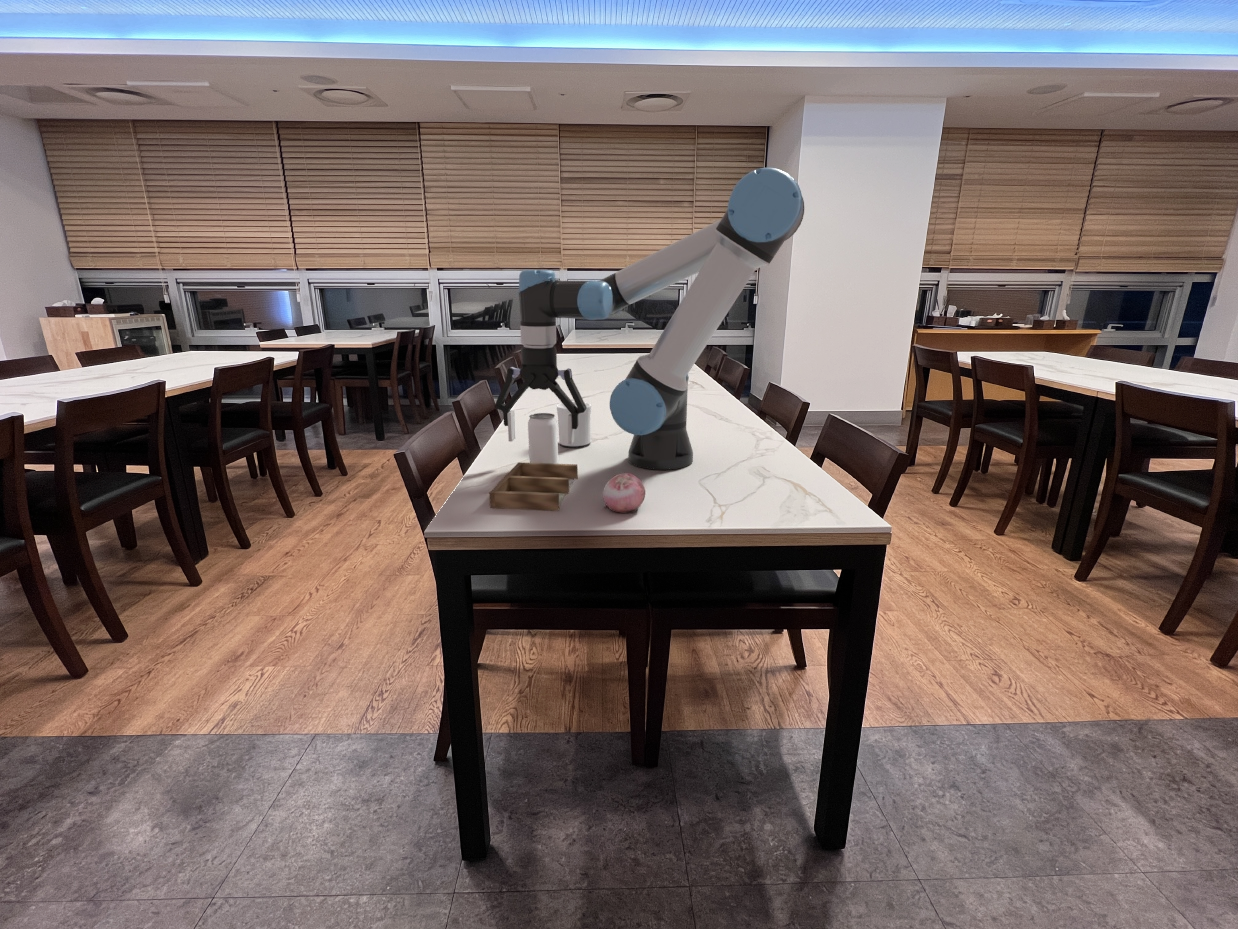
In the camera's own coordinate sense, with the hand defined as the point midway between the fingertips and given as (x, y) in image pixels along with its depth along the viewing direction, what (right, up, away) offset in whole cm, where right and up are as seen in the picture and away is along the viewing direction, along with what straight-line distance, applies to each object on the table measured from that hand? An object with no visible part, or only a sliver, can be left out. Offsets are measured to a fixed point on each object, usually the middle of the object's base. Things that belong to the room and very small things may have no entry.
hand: (541, 441), depth 132 cm
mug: (+6, 0, +21) cm, 22 cm away
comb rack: (+1, -11, -14) cm, 18 cm away
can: (0, -6, +2) cm, 6 cm away
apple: (+18, -14, -23) cm, 32 cm away
